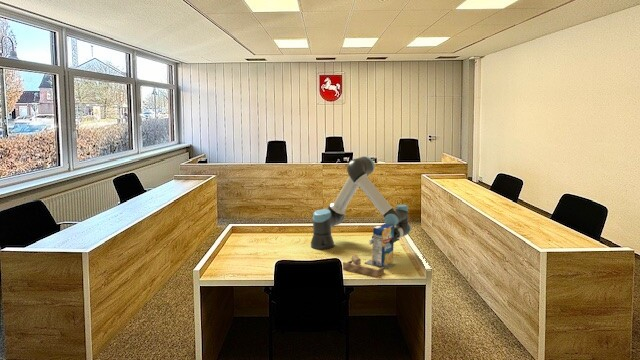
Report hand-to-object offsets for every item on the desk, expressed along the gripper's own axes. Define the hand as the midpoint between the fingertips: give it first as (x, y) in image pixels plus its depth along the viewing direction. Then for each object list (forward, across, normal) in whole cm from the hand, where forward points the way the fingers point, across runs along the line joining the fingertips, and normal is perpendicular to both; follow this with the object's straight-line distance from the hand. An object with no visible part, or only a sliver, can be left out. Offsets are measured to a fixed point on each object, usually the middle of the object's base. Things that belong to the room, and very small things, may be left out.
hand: (375, 243), depth 303 cm
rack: (+10, +2, -14) cm, 17 cm away
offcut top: (+6, +9, -11) cm, 16 cm away
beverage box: (-6, -1, -14) cm, 15 cm away
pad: (-5, 0, -14) cm, 15 cm away
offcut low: (+6, +10, -14) cm, 18 cm away
